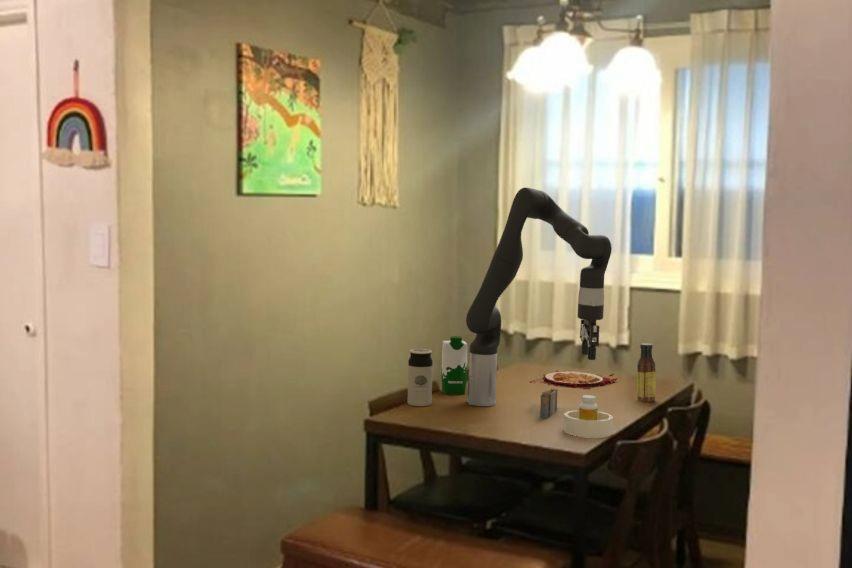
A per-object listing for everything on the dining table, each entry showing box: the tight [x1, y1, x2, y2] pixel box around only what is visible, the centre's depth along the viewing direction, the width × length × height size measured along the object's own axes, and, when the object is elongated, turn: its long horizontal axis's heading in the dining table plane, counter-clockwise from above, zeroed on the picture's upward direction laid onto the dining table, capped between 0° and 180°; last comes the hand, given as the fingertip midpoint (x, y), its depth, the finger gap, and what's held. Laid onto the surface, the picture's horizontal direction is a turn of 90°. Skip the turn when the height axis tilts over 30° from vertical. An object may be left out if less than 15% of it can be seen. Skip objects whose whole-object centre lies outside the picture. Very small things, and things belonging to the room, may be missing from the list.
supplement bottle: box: [578, 394, 599, 420], centre depth 276 cm, size 5×5×10 cm
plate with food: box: [530, 370, 618, 390], centre depth 354 cm, size 24×26×4 cm
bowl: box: [562, 409, 614, 439], centre depth 277 cm, size 14×14×5 cm
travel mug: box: [407, 348, 433, 407], centre depth 308 cm, size 8×8×18 cm
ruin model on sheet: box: [539, 387, 558, 419], centre depth 298 cm, size 11×3×10 cm, turn 158°
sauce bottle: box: [636, 342, 657, 403], centre depth 322 cm, size 6×6×20 cm
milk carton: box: [440, 336, 468, 395], centre depth 329 cm, size 9×9×20 cm
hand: (588, 357), depth 276 cm, fingers open, 8 cm apart
